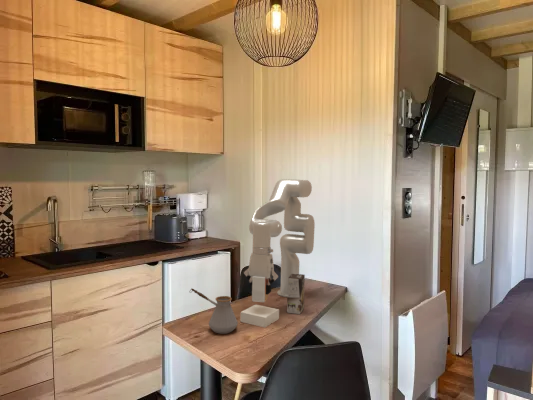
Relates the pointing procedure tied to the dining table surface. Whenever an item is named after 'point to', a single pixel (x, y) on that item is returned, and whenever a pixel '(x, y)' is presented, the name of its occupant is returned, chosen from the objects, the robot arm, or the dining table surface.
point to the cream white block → (259, 315)
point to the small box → (259, 289)
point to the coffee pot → (221, 314)
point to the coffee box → (295, 293)
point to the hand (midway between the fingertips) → (260, 292)
